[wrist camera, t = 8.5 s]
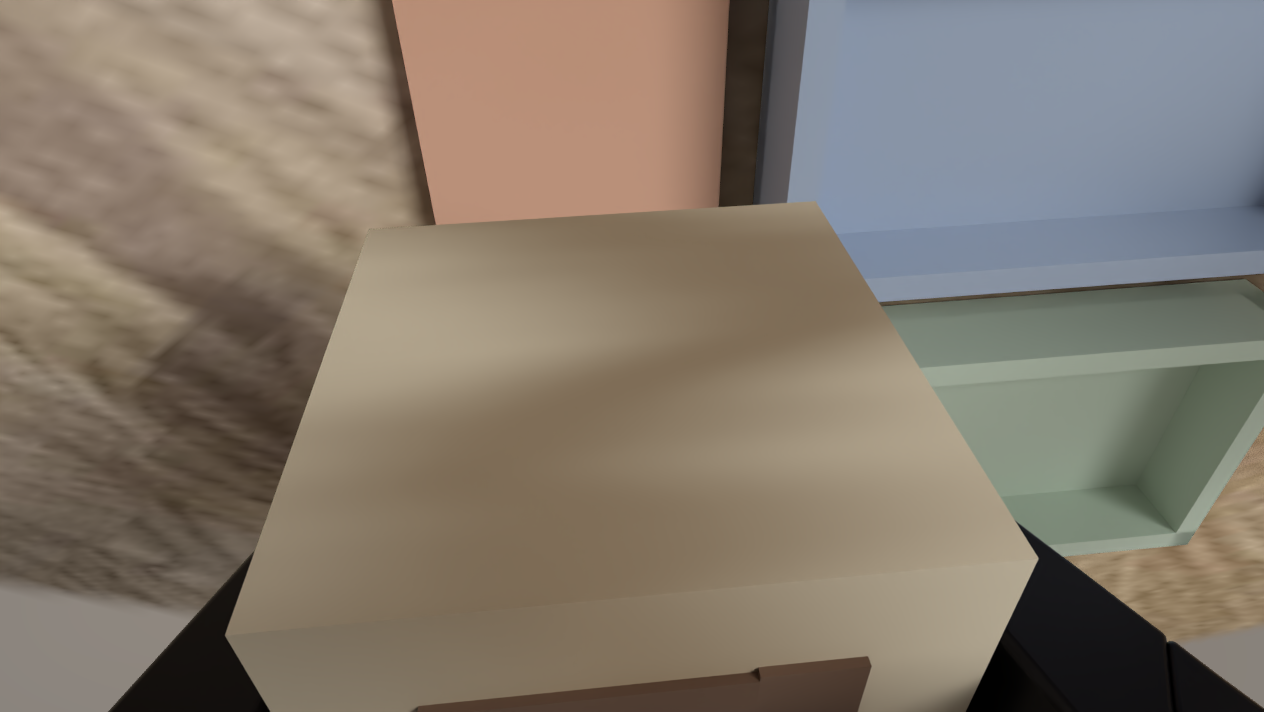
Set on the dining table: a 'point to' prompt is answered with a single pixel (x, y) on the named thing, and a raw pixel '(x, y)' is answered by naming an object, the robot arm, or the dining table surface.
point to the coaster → (566, 105)
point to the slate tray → (1020, 139)
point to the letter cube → (625, 484)
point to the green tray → (1100, 403)
